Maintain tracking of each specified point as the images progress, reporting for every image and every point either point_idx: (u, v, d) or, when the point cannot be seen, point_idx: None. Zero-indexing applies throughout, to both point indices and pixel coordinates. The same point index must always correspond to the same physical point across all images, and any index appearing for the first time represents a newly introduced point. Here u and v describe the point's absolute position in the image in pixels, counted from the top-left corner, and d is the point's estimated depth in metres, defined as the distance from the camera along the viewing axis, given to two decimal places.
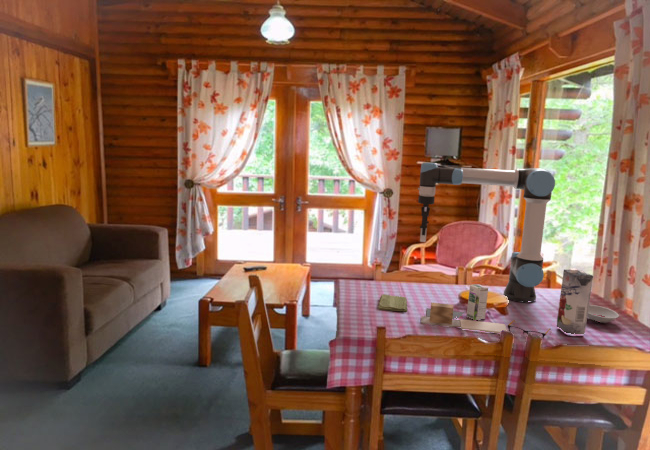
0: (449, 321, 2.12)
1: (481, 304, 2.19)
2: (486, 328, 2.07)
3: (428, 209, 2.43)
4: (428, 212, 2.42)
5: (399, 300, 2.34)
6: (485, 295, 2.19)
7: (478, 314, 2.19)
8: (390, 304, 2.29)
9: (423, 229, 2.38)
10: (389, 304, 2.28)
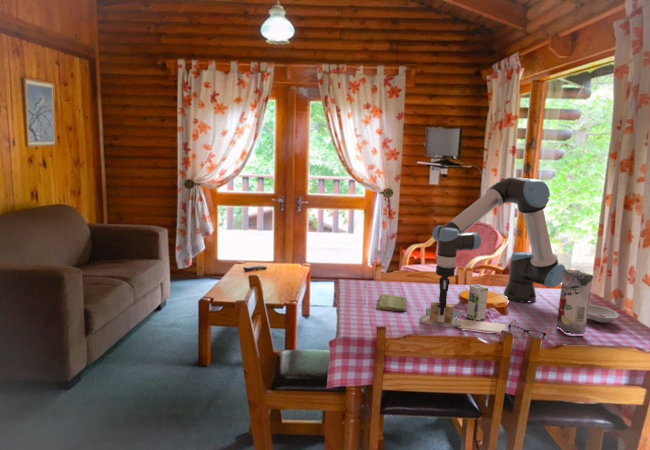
0: (449, 321, 2.11)
1: (481, 304, 2.19)
2: (486, 328, 2.07)
3: (447, 283, 2.09)
4: None
5: (398, 300, 2.34)
6: (485, 295, 2.19)
7: (478, 314, 2.19)
8: (390, 304, 2.29)
9: (441, 308, 2.09)
10: (388, 304, 2.28)
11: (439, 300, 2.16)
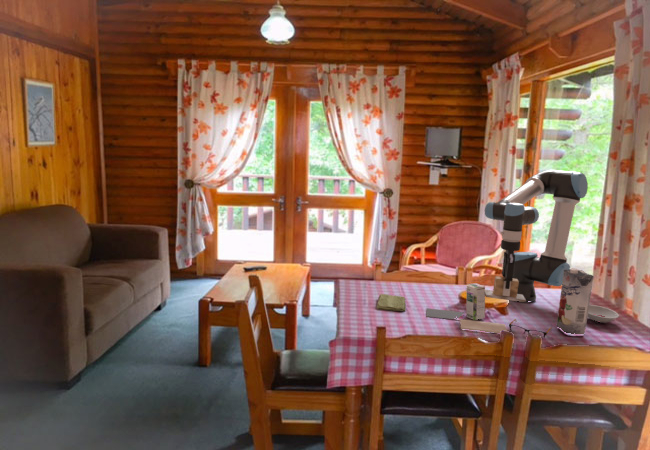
0: (513, 295, 2.15)
1: (479, 303, 2.18)
2: (486, 328, 2.07)
3: (513, 257, 2.13)
4: None
5: (398, 300, 2.34)
6: (482, 294, 2.18)
7: (478, 313, 2.19)
8: (389, 303, 2.29)
9: (507, 282, 2.13)
10: (387, 304, 2.28)
11: (503, 275, 2.20)
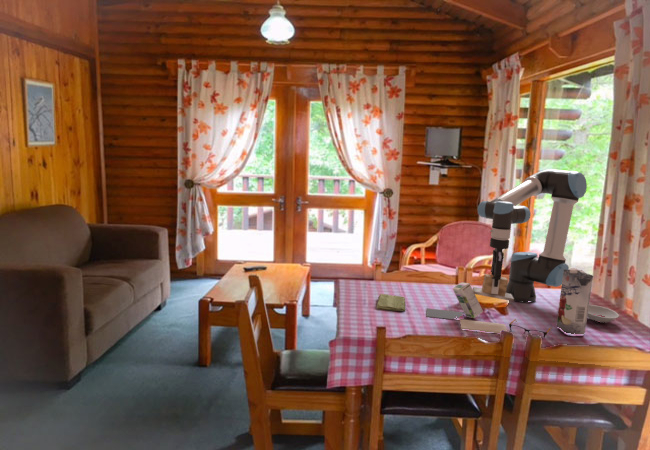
0: (502, 293, 2.16)
1: (471, 301, 2.18)
2: (486, 328, 2.07)
3: (502, 255, 2.14)
4: None
5: (397, 300, 2.34)
6: (470, 291, 2.18)
7: (474, 311, 2.19)
8: (389, 303, 2.29)
9: (496, 280, 2.14)
10: (387, 304, 2.28)
11: (492, 273, 2.20)
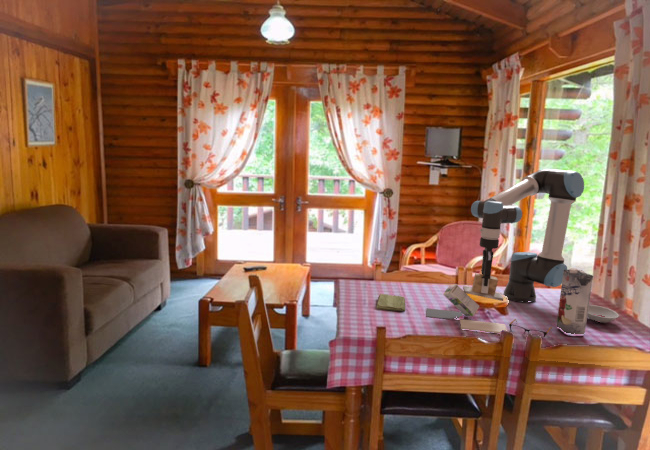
0: (492, 293, 2.17)
1: (464, 300, 2.19)
2: (486, 328, 2.07)
3: (491, 254, 2.15)
4: None
5: (397, 300, 2.34)
6: (460, 291, 2.19)
7: (470, 308, 2.19)
8: (388, 303, 2.29)
9: (485, 280, 2.15)
10: (387, 304, 2.29)
11: (482, 272, 2.21)
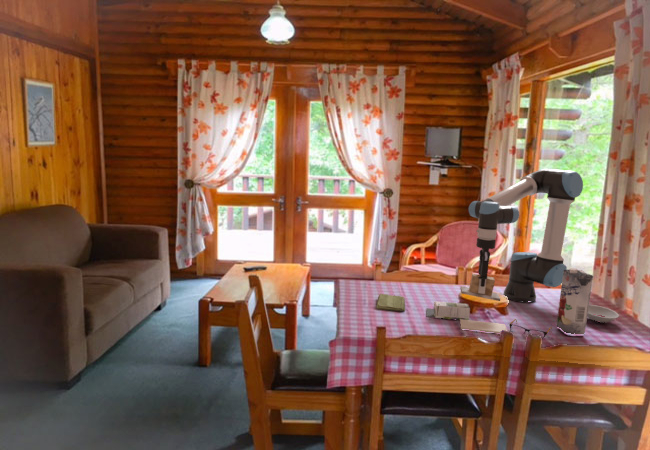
0: (489, 293, 2.17)
1: (452, 313, 2.18)
2: (486, 328, 2.07)
3: (488, 255, 2.15)
4: None
5: (397, 300, 2.35)
6: (443, 308, 2.18)
7: (463, 316, 2.18)
8: (388, 303, 2.29)
9: (482, 280, 2.15)
10: (387, 304, 2.29)
11: (479, 272, 2.22)
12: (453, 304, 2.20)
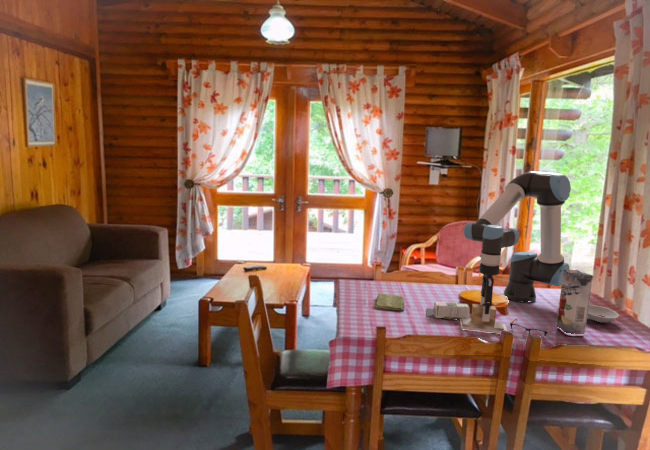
0: (491, 323, 2.07)
1: (452, 313, 2.18)
2: None
3: (492, 281, 2.05)
4: None
5: (396, 299, 2.35)
6: (443, 308, 2.18)
7: (463, 316, 2.18)
8: (387, 303, 2.29)
9: (487, 307, 2.02)
10: (386, 303, 2.29)
11: (481, 295, 2.14)
12: (453, 304, 2.20)
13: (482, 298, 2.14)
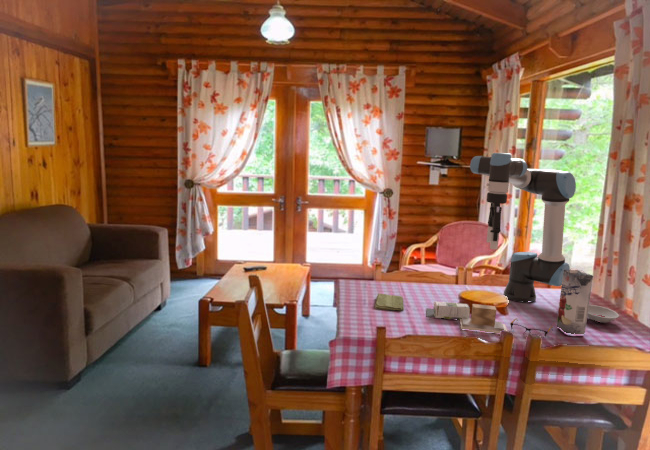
0: (491, 323, 2.07)
1: (452, 313, 2.18)
2: None
3: None
4: None
5: (396, 299, 2.35)
6: (443, 308, 2.18)
7: (463, 316, 2.18)
8: (387, 303, 2.30)
9: (495, 234, 1.95)
10: (385, 303, 2.29)
11: (488, 225, 2.10)
12: (453, 304, 2.20)
13: (489, 227, 2.10)
